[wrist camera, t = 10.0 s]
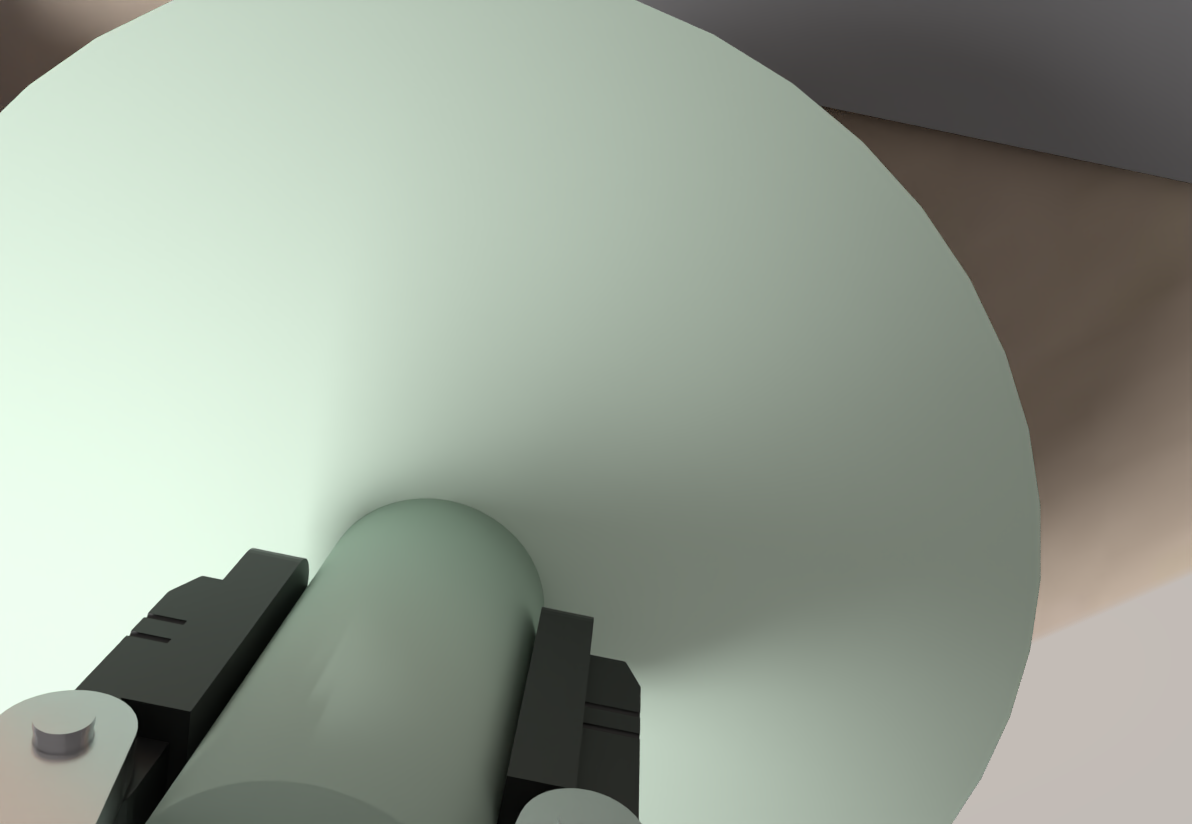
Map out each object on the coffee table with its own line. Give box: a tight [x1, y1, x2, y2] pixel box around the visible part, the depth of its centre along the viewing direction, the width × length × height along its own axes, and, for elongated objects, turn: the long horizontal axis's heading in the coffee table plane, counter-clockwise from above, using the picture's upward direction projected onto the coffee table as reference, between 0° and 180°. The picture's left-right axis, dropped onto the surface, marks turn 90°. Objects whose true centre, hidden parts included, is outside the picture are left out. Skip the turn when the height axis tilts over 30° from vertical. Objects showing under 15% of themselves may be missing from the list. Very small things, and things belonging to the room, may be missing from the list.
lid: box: [0, 0, 1041, 824], centre depth 12 cm, size 17×17×7 cm
